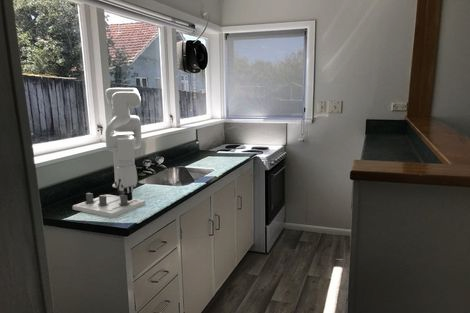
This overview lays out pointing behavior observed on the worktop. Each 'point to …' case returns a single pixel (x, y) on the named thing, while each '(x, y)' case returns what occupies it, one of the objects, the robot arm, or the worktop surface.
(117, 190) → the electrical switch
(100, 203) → the breaker
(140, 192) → the worktop surface
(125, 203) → the cylinder
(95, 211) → the white base plate
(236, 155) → the worktop surface
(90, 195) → the breaker
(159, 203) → the worktop surface
